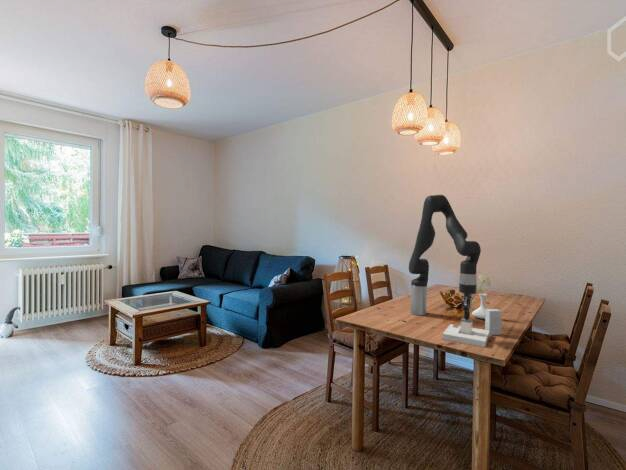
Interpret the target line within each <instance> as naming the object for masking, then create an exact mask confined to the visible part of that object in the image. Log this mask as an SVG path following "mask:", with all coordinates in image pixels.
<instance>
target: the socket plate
mask: <svg viewBox="0 0 626 470" xmlns="http://www.w3.org/2000/svg"><path fill="white" fill-rule="evenodd" d="M460 330H461V325H458V324H452V323H450V324H449V325H448V326H447V327H446V329H445V330H444V332H443V333H442V340H445V341H451V342H456V343H461V344H465V345H466V344H467V345H471V346H475V345H476V346H477V347H481V346H482V348H486V346H487V343H488V341H489V338H490V335H489V332H490V331H488V330H485V329H481V328H476V327H472V335H467V334H461V333H460Z"/></svg>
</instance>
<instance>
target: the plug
mask: <svg viewBox="0 0 626 470" xmlns="http://www.w3.org/2000/svg"><path fill="white" fill-rule="evenodd" d="M460 326H461V330H460V333H461V334H467V335H472V328H473V319H472V318H469V319H465V318H464V317H462V318H461V319H460Z"/></svg>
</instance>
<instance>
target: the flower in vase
mask: <svg viewBox="0 0 626 470" xmlns="http://www.w3.org/2000/svg"><path fill="white" fill-rule="evenodd" d="M478 277H479V280H480V282H481V284H480V286H478V288H477V290H479V291H480V292H481V293H478V296H479V297H480V306H479V307H478V308H476V309H475V310H473V311H472V312H471V315H472V316H473V317H475V318H478V319H483V320H485V309H488V308H487V307H486V299H487V297H488V296H489V294H488V293H483V292H485V291H487V290H488V289H487V288H486V289H484V290H482V286H483V285H485V287H490V286H491V282H490V279H489V278H488V277H487V276H486V275H483V273H482V274H480V275H478Z"/></svg>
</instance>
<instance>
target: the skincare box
mask: <svg viewBox="0 0 626 470" xmlns="http://www.w3.org/2000/svg"><path fill="white" fill-rule="evenodd" d="M484 320H485V321H484V322H485V323H484V330H488V331H490V332H489V336H501V335H502V310H500V309H498V308H487V309H485V319H484Z"/></svg>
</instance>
